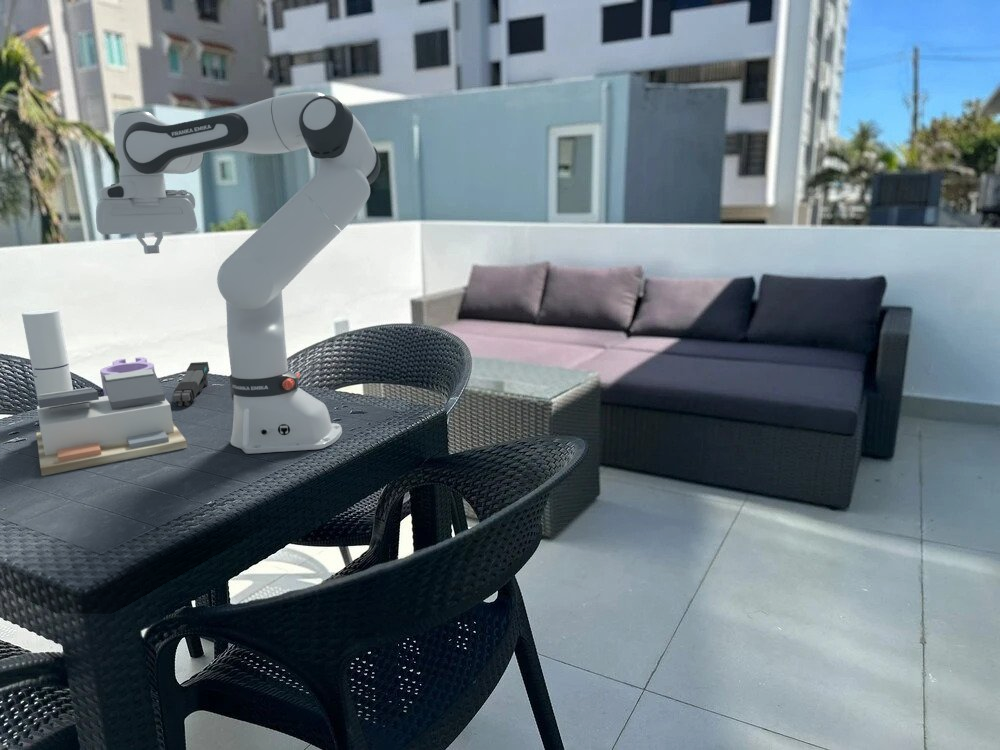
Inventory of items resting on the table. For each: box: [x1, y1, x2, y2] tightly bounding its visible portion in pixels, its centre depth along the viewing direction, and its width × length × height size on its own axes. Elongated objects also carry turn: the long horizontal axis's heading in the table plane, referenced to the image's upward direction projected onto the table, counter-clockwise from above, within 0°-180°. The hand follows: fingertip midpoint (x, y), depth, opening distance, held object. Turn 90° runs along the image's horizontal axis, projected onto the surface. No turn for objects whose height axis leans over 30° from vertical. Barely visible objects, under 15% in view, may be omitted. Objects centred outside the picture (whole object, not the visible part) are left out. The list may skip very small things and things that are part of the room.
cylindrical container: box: [21, 308, 74, 405], centre depth 160 cm, size 7×7×25 cm
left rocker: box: [37, 387, 100, 408], centre depth 143 cm, size 12×10×2 cm
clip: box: [99, 356, 156, 396], centre depth 186 cm, size 20×12×7 cm, turn 24°
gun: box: [172, 361, 210, 407], centre depth 180 cm, size 4×20×10 cm, turn 8°
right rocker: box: [102, 368, 166, 409], centre depth 149 cm, size 12×10×2 cm
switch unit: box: [36, 395, 188, 477], centre depth 145 cm, size 25×25×9 cm
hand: (152, 253), depth 159 cm, fingers closed
